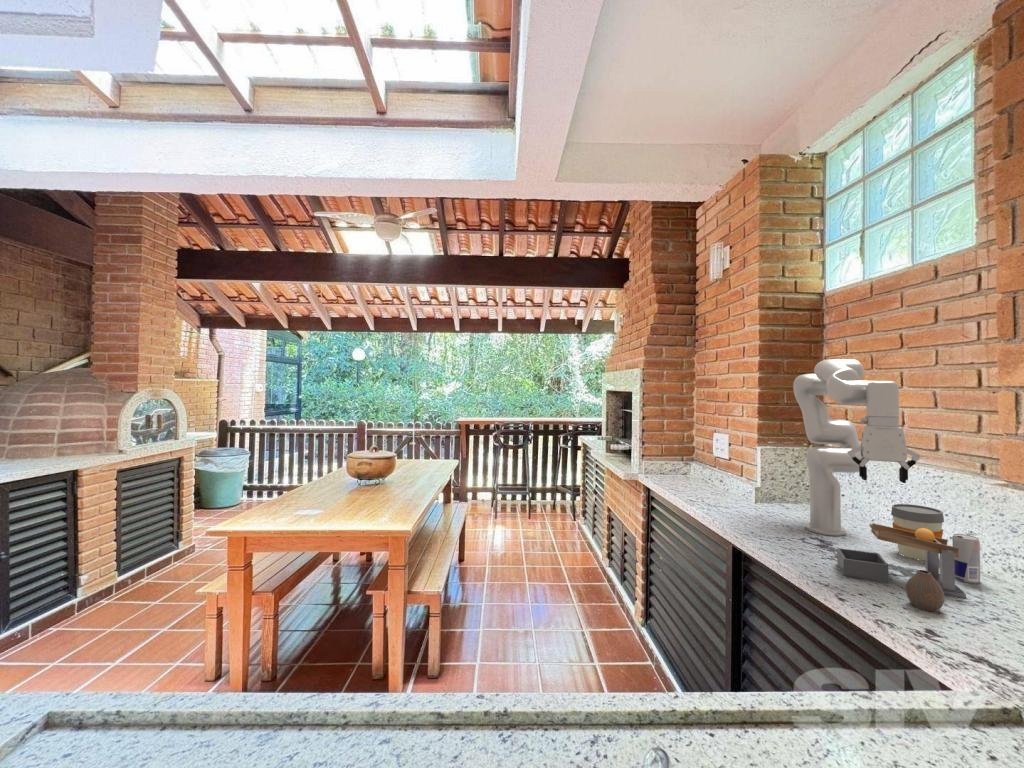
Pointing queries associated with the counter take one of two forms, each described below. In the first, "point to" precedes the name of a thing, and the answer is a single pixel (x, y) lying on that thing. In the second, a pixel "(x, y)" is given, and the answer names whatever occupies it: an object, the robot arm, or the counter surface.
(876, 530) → the wooden tilting tray
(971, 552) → the energy drink
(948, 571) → the stand
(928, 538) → the ball
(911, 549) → the reusable coffee cup
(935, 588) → the vase
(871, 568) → the bin
